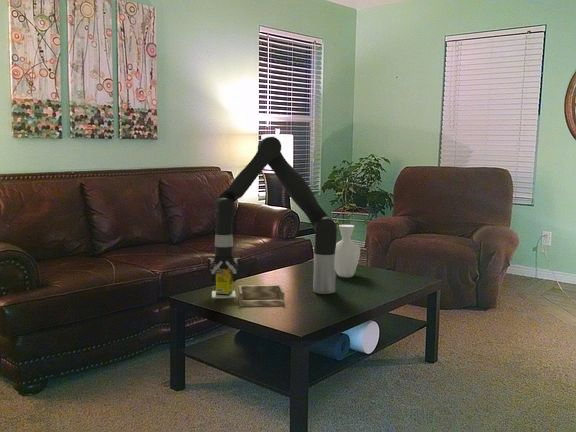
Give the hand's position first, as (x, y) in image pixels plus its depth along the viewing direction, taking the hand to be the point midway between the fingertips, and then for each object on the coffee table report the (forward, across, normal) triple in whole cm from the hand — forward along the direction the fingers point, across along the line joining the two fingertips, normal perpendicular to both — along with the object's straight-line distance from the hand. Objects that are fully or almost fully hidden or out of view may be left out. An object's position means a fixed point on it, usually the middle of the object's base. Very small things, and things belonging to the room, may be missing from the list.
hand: (223, 282), depth 242 cm
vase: (+6, -61, -33) cm, 70 cm away
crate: (+6, -15, +10) cm, 19 cm away
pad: (+6, 0, 0) cm, 6 cm away
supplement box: (+5, 0, 0) cm, 5 cm away
